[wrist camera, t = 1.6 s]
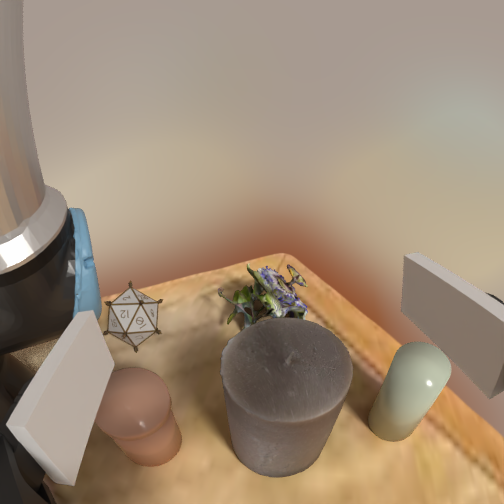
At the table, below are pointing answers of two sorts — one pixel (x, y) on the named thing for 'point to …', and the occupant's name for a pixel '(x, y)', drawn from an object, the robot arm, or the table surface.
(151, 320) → the game die
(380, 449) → the table surface
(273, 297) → the passion flower
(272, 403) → the pillar candle
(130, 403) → the peach round-topped cylinder
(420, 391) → the pale green cylinder
